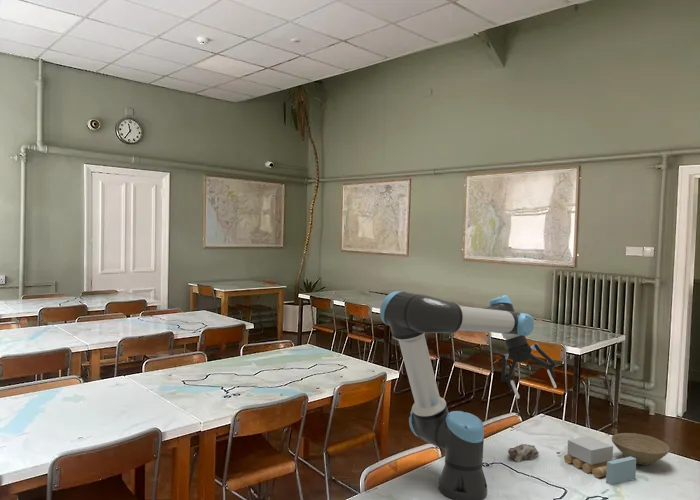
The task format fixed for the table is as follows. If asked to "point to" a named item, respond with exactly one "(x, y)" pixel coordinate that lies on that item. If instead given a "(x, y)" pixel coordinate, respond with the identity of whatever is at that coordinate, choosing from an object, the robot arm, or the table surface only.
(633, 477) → the fence
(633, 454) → the bowl
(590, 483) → the table surface
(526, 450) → the mineral rock
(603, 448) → the slab
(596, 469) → the roller bed
